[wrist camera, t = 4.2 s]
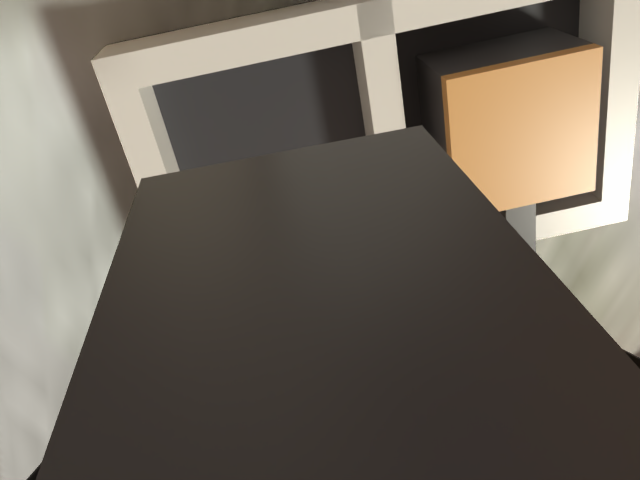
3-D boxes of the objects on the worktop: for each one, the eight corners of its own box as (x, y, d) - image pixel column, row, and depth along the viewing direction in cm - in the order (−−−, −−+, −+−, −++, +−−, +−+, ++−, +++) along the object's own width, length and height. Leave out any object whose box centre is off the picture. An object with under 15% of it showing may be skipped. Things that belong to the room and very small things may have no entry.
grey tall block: (421, 125, 9) (946, 711, 2) (436, 343, 12) (738, 978, 5) (141, 178, 9) (-137, 971, 2) (210, 389, 11) (174, 1118, 5)
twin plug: (546, 25, 20) (603, 46, 17) (543, 317, 26) (584, 372, 23) (414, 54, 20) (446, 80, 16) (442, 340, 26) (470, 397, 23)
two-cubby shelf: (609, -62, 19) (652, -59, 17) (594, 194, 23) (627, 220, 21) (106, 45, 18) (90, 60, 16) (189, 283, 23) (185, 317, 21)
